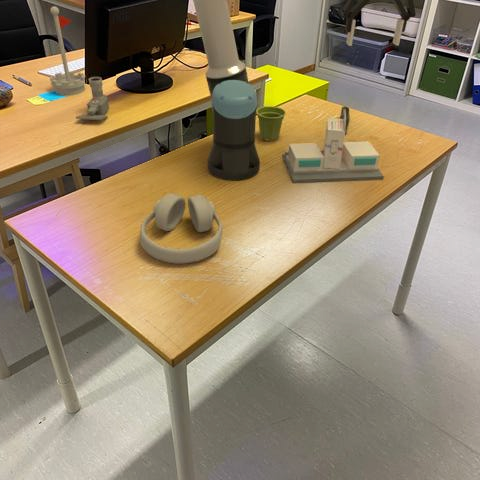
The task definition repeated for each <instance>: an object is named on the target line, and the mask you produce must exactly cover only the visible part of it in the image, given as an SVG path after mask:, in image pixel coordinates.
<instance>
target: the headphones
mask: <svg viewBox="0 0 480 480" xmlns="http://www.w3.org/2000/svg"><path fill="white" fill-rule="evenodd" d="M187 207H188V213H189V215H190V218H191V222H192V224H193V226H194V228H195V230H196V231H197V232H198V233H203V232H208V231H209V230H211V229H212V226H213V222H214V221H215V223H216V224H217V226H218V229H217V232H216V233H215V234H214V236H212V237H211V238H210V239H208V240H207V241H205V242H204V243H202V244H199V245H196V246H193V247H188V248H181V249H180V248H171V247H170V248H169V247H166V246H162V245H159V244H157V243H156V242H155V241H153V240H152V239H150V238H149V236H148V235H147V234H146V229H147V225H148V224H149V223H151V221H152V220H154V223H155V226H156V227H157V228H158V229H160V230H162V231H166V232H169V231H172V230H174V229H175V228H176V227H177V226H179V225H178V224H179V223H180V222H181V220H182V218H183V217H184V214H185V211H186V199H185V197H183V196H181V195H178V194H175V193H171V192H170V193H168V194H166V195H165V196H163V198H160V199H158V200H157V201H156V202H155V204H154V206H153V209H152V211H151V213H149V214H148V216H146V217H145V218H144V220H143V221H141V222H142V223H141V226H140V231H139V242H140V245H141V247H142V249H143V250H144V251H145V252H146V254H148V255H149V256H151V257H153V258H154V259H155V260H158V261H162V262H165V263H169V264H179V265H180V264H190V263H191V264H192V263H195V262H200V261H202V260H204V259H206V258H208V257H209V258H210V256H212V255H214V253H215V252H216V251H217V250H218V249H219V248H220V244H221V241H222V234H223V227H224V226H223V224H222V221H221V220H220V219H219V217H218V215H217V211H216V208H215V205H214V203H213V201H212V200H208V199H206V197H204V195H202V194H197V195H192V196H189V197H188V199H187Z"/></svg>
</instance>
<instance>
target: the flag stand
mask: <svg viewBox="0 0 480 480" xmlns="http://www.w3.org/2000/svg"><path fill="white" fill-rule="evenodd" d="M49 9H50V14H52V16H53V20H54V26H55V30H56V35H57V40H58V41H57V42H58V44H59V45H58V46H59V51H60V57H61V61H62V65H63V66H62V67H63V70H64V74H62V72H58V73H55V74H54V76H53V75H51V76H50V77H49V80H50V85H51V87H52V88H54V91H55V93H56V94H57V93H58V94H57V95H59V94H60V96H67V97H68V96H75V95H79V94H82V93H84V92H85V90H86V88H85V85H86V84H85V77H86V75H85V74H84V73H83V72H77V74H75V72H74V71H70V70H69V66H68V61H67V56H66V50H65V45H64V40H63V36H62V30H61V29H62V28H63V27H65V26H66V25H68V24H69V23H71V22H72V20H71V19H68V18H66V17H63V16H61V15H59V14H60V10H59V8H58V6H52V7H50V8H49Z"/></svg>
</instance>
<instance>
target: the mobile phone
mask: <svg viewBox="0 0 480 480" xmlns="http://www.w3.org/2000/svg"><path fill="white" fill-rule="evenodd" d="M344 110H345V112H346V129H345V136H346V135H347V130H348V127H349V124H350V120H351V119H350V118H351V117H350V115H351V114H350V108H349V107H348V106H342V107H341V111H340V118H339V119H344Z"/></svg>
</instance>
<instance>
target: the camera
mask: <svg viewBox="0 0 480 480" xmlns="http://www.w3.org/2000/svg"><path fill="white" fill-rule="evenodd" d="M88 82H89V83H88V84H89V87H90V90H91V95H92V98H90V100H89V101H88V102H87V103H86V106H87V111H86V112H87V113H83V114H80V115H76V117H75V119H76V120H78V119H79V120H90V121H91V120H95V121H102V120H105V119H107V118H108V117H109V116H108V115H107V114H106V113H107V112H108V111H109V109H110V103H109V98H108V97H107V95H106V94H104V92H103V85H104V84H103V79H102V77H101V76H91V77H89V78H88ZM105 114H106V115H105Z"/></svg>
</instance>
